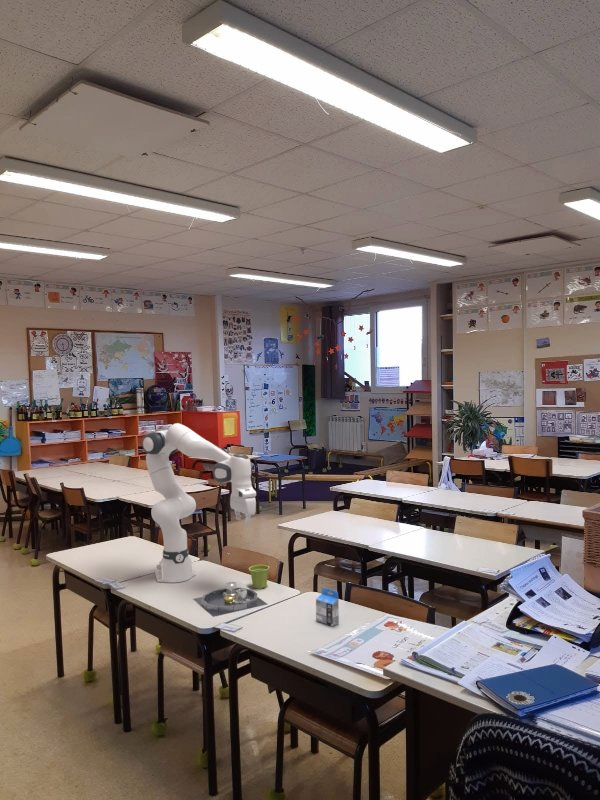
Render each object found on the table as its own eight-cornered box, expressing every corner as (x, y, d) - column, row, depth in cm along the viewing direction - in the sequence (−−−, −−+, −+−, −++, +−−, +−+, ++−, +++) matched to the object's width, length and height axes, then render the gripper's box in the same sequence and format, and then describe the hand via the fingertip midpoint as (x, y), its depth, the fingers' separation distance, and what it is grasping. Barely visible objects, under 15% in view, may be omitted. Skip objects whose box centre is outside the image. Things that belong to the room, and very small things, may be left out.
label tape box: (315, 621, 230) (314, 589, 230) (322, 617, 233) (321, 586, 233) (332, 627, 224) (331, 594, 223) (339, 623, 227) (338, 591, 226)
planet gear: (230, 603, 249) (230, 589, 249) (245, 599, 252) (245, 586, 252) (237, 608, 243) (237, 594, 242) (252, 604, 246) (252, 591, 246)
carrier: (192, 601, 255) (192, 586, 255) (244, 590, 267) (243, 575, 267) (213, 619, 234) (212, 602, 234) (268, 607, 246) (267, 590, 246)
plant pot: (248, 590, 267) (247, 571, 267) (250, 583, 276) (249, 565, 276) (269, 590, 267) (268, 570, 267) (270, 583, 276) (269, 564, 276)
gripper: (226, 488, 273) (227, 518, 273) (244, 494, 255) (245, 527, 255) (239, 487, 276) (240, 516, 276) (258, 493, 258) (259, 524, 258)
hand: (242, 521), depth 265 cm, fingers open, 8 cm apart
